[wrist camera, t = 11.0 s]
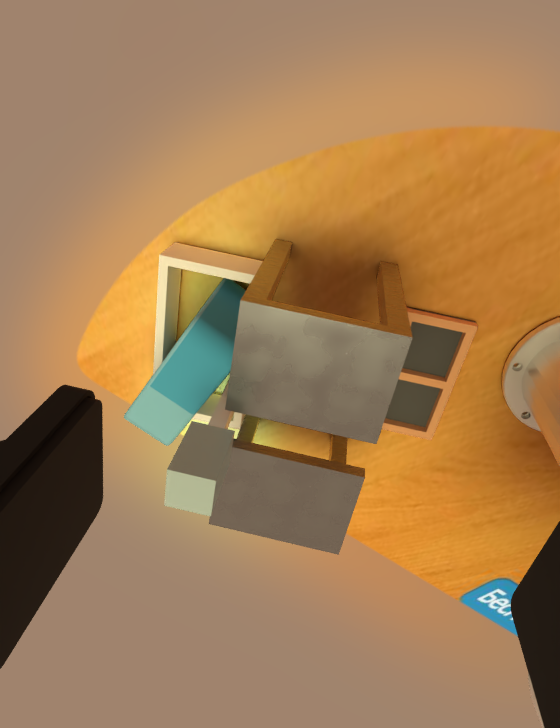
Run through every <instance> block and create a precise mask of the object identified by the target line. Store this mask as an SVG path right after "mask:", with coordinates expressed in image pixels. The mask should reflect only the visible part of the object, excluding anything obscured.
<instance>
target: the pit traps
mask: <svg viewBox="0 0 560 728" xmlns="http://www.w3.org/2000/svg"><path fill="white" fill-rule="evenodd" d="M406 308H407V313H408V317H409V322H410V327H411V332H412V337H413V338H412V341H411V344H410V347H409V350H408V353H407V356H406V359H405V362H404V364H403V367H402V370H401V373H400V376H399V379H398V382H397V385H396V388H395V391H394V394H393V397H392V400H391V403H390V405H389V408H388V411H387V414H386V417H385V420H384V423H383V426H382V429H383V430H388V431H392V432H397V433H401V434H405V435H410V436H414V437H419V438H423V439H428V440H432V438H433V436H434V433H435V431H436V428H437V426H438V423H439V421H440V418H441V416H442V414H443V411H444V409H445V406H446V404H447V401H448V399H449V397H450V394H451V392H452V389H453V387H454V384H455V382H456V379H457V377H458V375H459V372H460V370H461V367H462V365H463V362H464V360H465V358H466V355H467V353H468V350H469V348H470V345H471V343H472V340H473V338H474V336H475V333H476V331H477V328H478V326H477V324H476V322H475V321H470V320H466V319H461V318H457V317H452V316H447V315H443V314H438V313H433V312H429V311H424V310H419V309H415V308H410V307H406Z"/></svg>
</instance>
